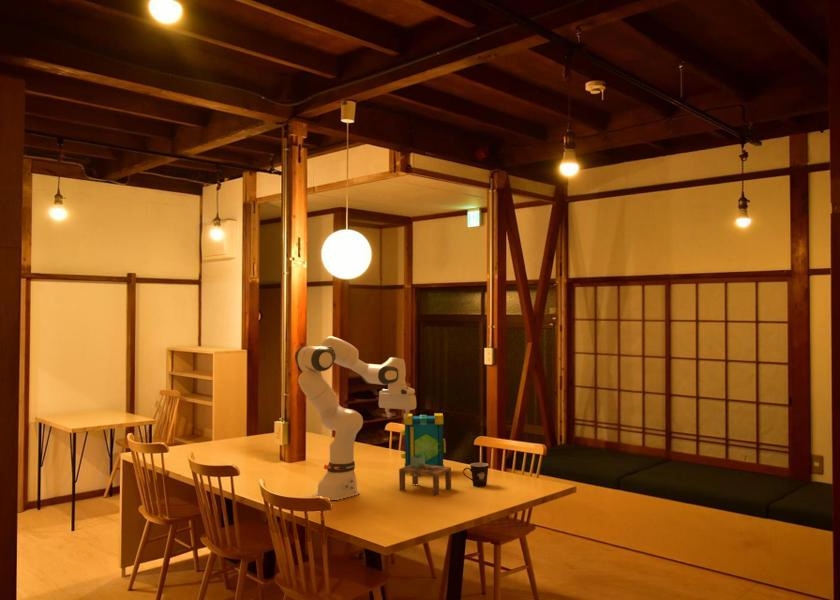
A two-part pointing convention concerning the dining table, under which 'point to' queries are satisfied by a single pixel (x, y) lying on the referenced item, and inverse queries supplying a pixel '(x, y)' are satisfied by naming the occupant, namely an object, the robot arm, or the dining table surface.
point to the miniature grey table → (426, 471)
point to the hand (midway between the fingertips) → (397, 417)
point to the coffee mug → (478, 474)
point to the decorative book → (424, 439)
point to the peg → (417, 463)
